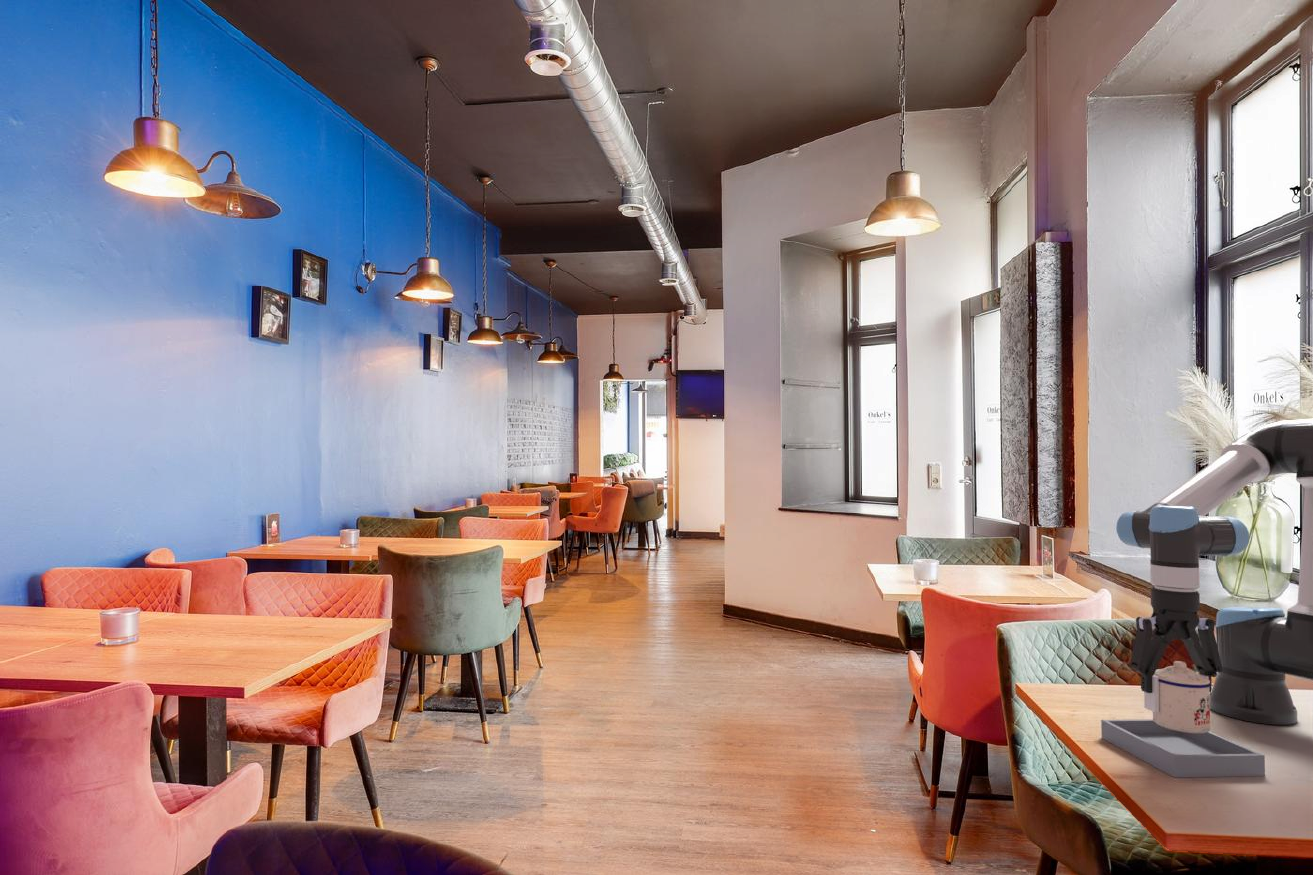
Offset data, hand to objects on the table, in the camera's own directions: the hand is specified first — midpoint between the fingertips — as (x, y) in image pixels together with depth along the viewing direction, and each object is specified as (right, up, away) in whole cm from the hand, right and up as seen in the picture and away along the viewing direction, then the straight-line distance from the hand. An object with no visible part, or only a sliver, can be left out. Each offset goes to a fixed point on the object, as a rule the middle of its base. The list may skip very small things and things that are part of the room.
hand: (1176, 709), depth 136 cm
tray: (0, -8, 0) cm, 8 cm away
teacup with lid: (+1, -3, 0) cm, 3 cm away
